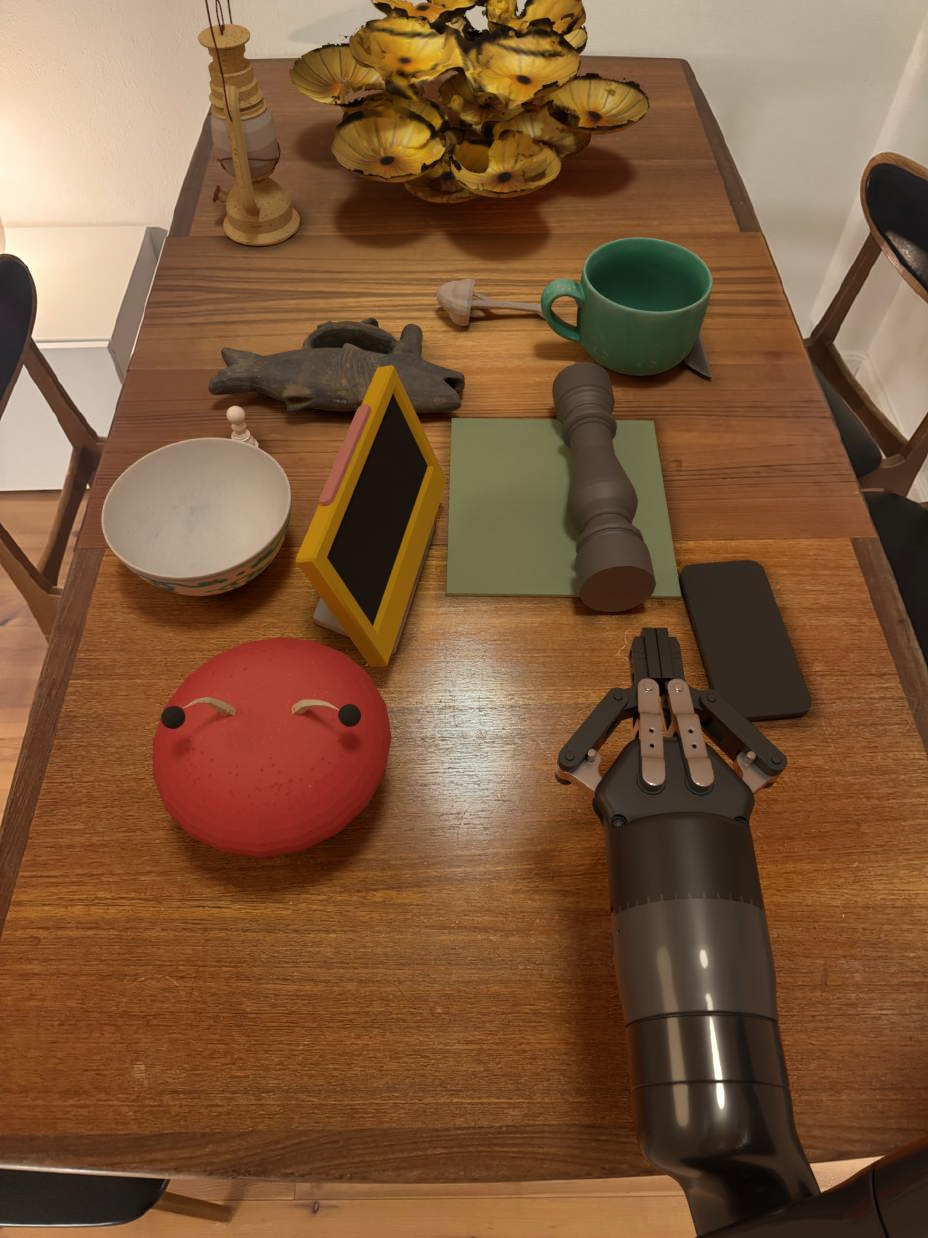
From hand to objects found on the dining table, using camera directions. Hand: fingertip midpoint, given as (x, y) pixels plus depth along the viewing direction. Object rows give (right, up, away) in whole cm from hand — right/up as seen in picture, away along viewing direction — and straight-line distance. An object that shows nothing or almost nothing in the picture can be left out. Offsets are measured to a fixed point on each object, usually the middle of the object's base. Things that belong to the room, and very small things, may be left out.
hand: (651, 634), depth 53 cm
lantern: (-36, +49, +53) cm, 81 cm away
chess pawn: (-33, +17, +32) cm, 49 cm away
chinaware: (-33, +6, +24) cm, 41 cm away
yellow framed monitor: (-19, +4, +23) cm, 30 cm away
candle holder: (+1, +3, +18) cm, 18 cm away
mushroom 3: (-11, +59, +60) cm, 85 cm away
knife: (+13, +31, +41) cm, 53 cm away
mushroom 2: (-24, -12, +12) cm, 29 cm away
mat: (-3, +12, +28) cm, 30 cm away
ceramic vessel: (-24, +25, +37) cm, 51 cm away
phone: (+11, -1, +19) cm, 22 cm away
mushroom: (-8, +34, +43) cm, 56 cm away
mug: (+5, +29, +40) cm, 50 cm away
